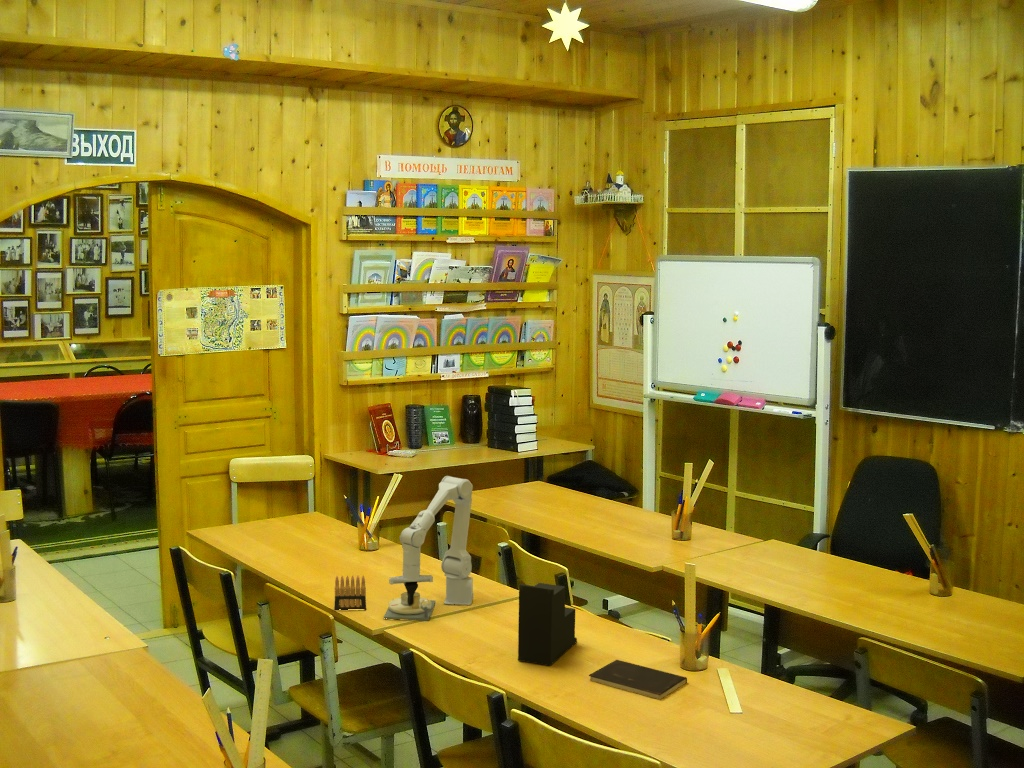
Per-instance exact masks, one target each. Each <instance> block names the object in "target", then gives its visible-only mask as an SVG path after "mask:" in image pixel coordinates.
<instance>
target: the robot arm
mask: <svg viewBox="0 0 1024 768" xmlns="http://www.w3.org/2000/svg"><path fill="white" fill-rule="evenodd" d="M473 489H474V486H473V484H472V483H471V481H470V480H469V479H467V478H460V477H455V476H451V475H445V476H444V477H443V478H441V481H440V482H439V483H438V490H437V492H436V494H435V495H434V497H433V498H432V500H431V502H430V503H429V504H428V507H427V509H424V510H420V511H419V513H417V516H416V518H415V519H414V520H413V521H412V523H411V524H410V525H409V526H408V527H405V528H404V529H403V530H402V531H401V533H400V535H399V542H400V543H401V548H402V551H403V553H402V575H399V576H393V577H389V578H388V584H390V586H391V585H394V584H395V585H398V584H403V585H404V587H405V590H406V592H407V593H408V604H409V605H413V596H414V593H415V592H417V589H418V588H419V584H418V583H433V582H434V576H433V575H432V574H424V575H423V574H421V552H422V551H421V549H422V548H421V547H422V545H423V544H424V543H425V540H426V536H427V533H428V531H429V530H430V528H431V527H432V526H433V524H434V523H435V520H436V519H435V516H436V515H437V514H438V512H439V511H440V510H441V509H442V508H443V506H445V505H446V503H447V502H448V501H450V500H452V501H453V503H455V507H454V515H453V523H452V530H451V539H450V548H449V549H448V550H446V551H445V552H444V556H443V559H442V560H441V565H440V566H441V567H440V568H441V572H442V573H444V576H445V585H446V586H445V599H444V602H443V605H454V604H455V605H456V606H457V605H458V606H461V605H463V606H472V603H473V599H474V579H473V578H474V577H472V576H470V575H471V573H472V569H473V568H472V567H473V566H472V565H473V564H472V556H471V555H470V553H469V552H468V551H467V543H468V536H469V535H468V534H469V526H470V520H471V518H470V517H471V511H472V501H473V497H472V496H473Z"/></svg>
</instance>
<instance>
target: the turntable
mask: <svg viewBox="0 0 1024 768" xmlns="http://www.w3.org/2000/svg"><path fill="white" fill-rule="evenodd" d="M393 599H394V600H393ZM393 599H392V600H390V601H389V602H388V607H389V610H390V611H392V612H395V613H399V614H419V613H424V610H422V608H421V602H422V601H423V600H429V601H430V599H428V598H425V597H420V604H419V596H418V595H414V596H413V605H412V606H405V605H402V604H401V597H397V598H393ZM430 602H431V601H430ZM428 611H429V610H428Z"/></svg>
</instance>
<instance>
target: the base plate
mask: <svg viewBox="0 0 1024 768" xmlns="http://www.w3.org/2000/svg"><path fill="white" fill-rule="evenodd" d="M394 599H395V598H393V599H392V600H394ZM429 600H430V599H429ZM430 601H431V604H432V606H431V609H430V610H429V611H428V617H424V613H419V614H399V613H395V612H392V611H390V610H389V606H388V608H387V609H386V611H385V613H384V615H383V619H384V618H385V619H386V618H387V619H408V620H407V621H412V620H417V621H418V622H419V621H420V622H429V621H430V618H431V615H432V613H433V611H434V609H433V608H435V606H436V604H437V603H436V600H434V599H433V600H432V599H431V600H430Z"/></svg>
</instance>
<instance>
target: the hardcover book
mask: <svg viewBox="0 0 1024 768" xmlns="http://www.w3.org/2000/svg"><path fill="white" fill-rule="evenodd" d="M588 677H589V678H590V679H589V681H590V680H591V682H594V683H598V684H602V685H605V686H608V687H612V688H617V689H621V690H624V691H627V692H630V693H631V692H632V693H636V694H639V695H642V696H645V697H650V698H652V699H657V700H661V699H663V698H665V697H667V695H669V694H671V693H672V692H674V691H675V690H677V689H678V688H680V687H682V686H683V685H685V684H687V683H688V677H686V676H682V675H679V674H674V673H671V672H667V671H663V670H659V669H655V668H651V667H647V666H643V665H639V664H635V663H633V662H632V663H631V662H629V661H624V660H620V659H615V660H613V661H611V662H610V663H608V664H607V665H605V666H603V667H600V668H599V669H597V670H595V671H594V672H591V673H590V674H588Z"/></svg>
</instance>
